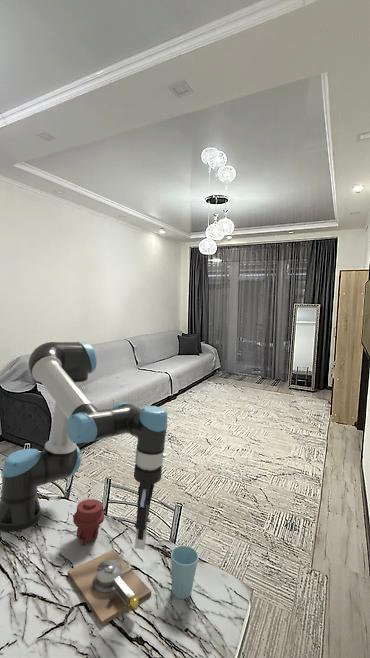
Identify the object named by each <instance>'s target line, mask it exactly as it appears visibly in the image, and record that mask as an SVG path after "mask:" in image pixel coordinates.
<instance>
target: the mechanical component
mask: <svg viewBox="0 0 370 658" xmlns="http://www.w3.org/2000/svg"><path fill="white" fill-rule="evenodd" d="M72 518H73V519H72V522H73V524H74V525H75V526H76V527H77V529H76V537H77V539H78V540H80V545H82V546H85V545H86V544H87V543H90V541H92V540H96V539H97V538H98V535H99V528H100V525H102V523H104V520H105V512H104V510H103V502H101V500H98V499H91V498H90V499H84V500H82V501H80V502H79V503H78V504H77V505H76V511H75V512H74V514H73V517H72Z"/></svg>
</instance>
